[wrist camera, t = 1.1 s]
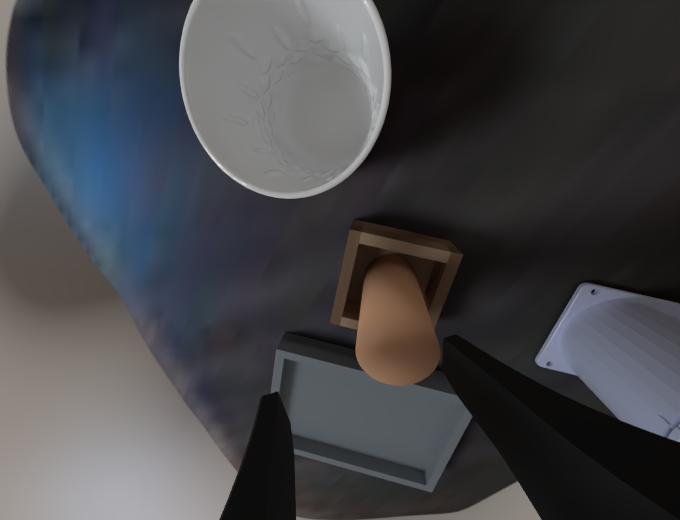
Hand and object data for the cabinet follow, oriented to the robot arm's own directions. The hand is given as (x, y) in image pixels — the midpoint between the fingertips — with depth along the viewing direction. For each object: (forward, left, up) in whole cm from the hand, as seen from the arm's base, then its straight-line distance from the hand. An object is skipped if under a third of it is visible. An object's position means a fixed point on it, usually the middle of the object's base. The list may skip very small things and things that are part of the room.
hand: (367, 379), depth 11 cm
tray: (-2, +15, -12) cm, 19 cm away
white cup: (+6, -10, -12) cm, 17 cm away
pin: (-1, 0, -11) cm, 11 cm away
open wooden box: (-1, 0, -12) cm, 12 cm away
